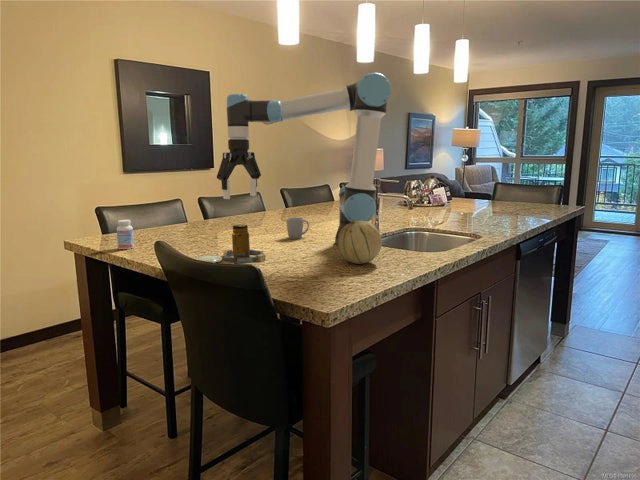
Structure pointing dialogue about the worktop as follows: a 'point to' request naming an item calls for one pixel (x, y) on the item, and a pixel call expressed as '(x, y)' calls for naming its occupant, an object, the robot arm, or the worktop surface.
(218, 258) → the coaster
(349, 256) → the cantaloupe
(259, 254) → the collar
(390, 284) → the worktop surface
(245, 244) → the condiment
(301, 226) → the cup
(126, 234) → the pill bottle
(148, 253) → the worktop surface
